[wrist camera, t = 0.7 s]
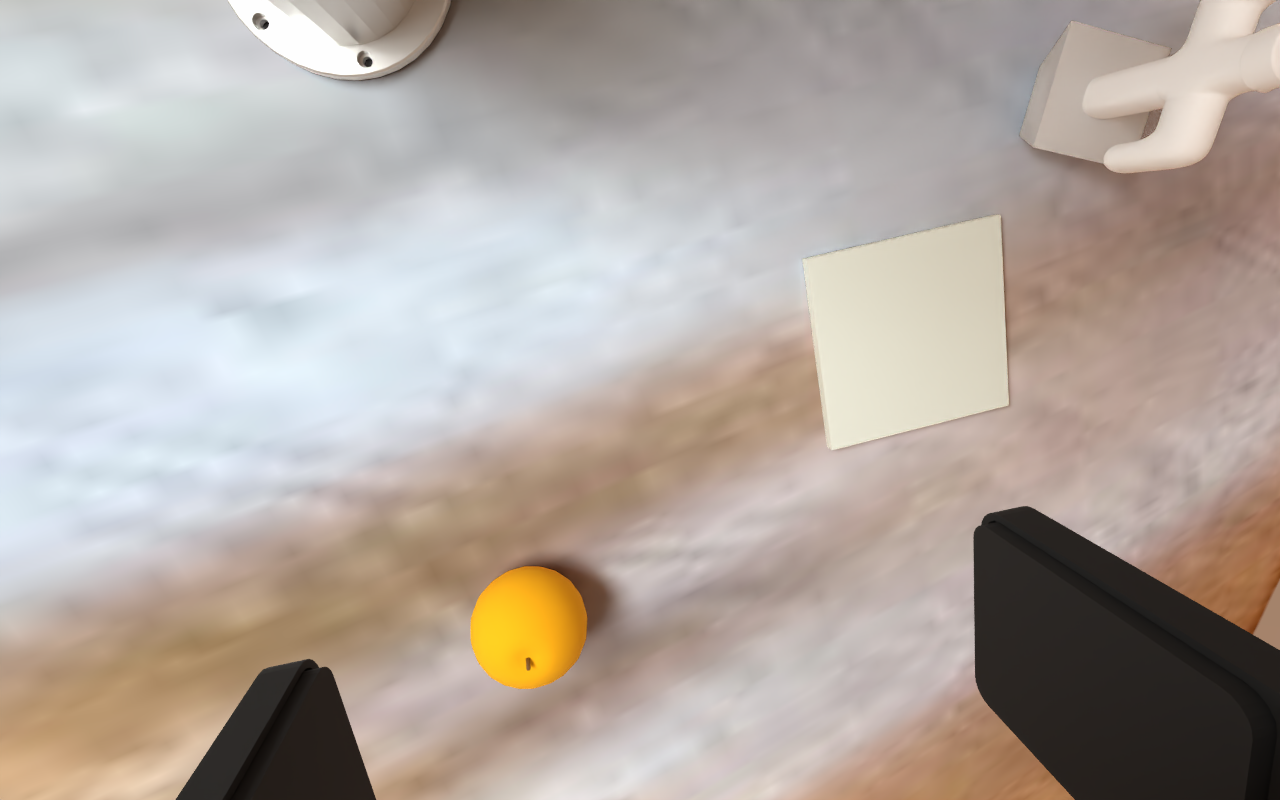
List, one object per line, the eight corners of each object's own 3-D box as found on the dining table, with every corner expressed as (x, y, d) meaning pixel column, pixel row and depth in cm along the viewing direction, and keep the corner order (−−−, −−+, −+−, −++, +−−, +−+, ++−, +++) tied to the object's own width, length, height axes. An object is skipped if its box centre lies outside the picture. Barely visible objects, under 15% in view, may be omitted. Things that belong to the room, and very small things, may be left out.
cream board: (802, 258, 43) (806, 259, 43) (992, 214, 44) (1000, 214, 44) (827, 446, 47) (831, 450, 47) (1001, 402, 48) (1008, 405, 48)
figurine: (988, 170, 44) (1205, 142, 29) (1033, 19, 41) (1290, -92, 27) (1079, 190, 45) (1328, 173, 30) (1126, 45, 43) (1419, -47, 28)
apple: (579, 543, 47) (584, 600, 39) (590, 635, 49) (597, 705, 42) (468, 558, 46) (453, 620, 39) (484, 651, 48) (473, 726, 41)
